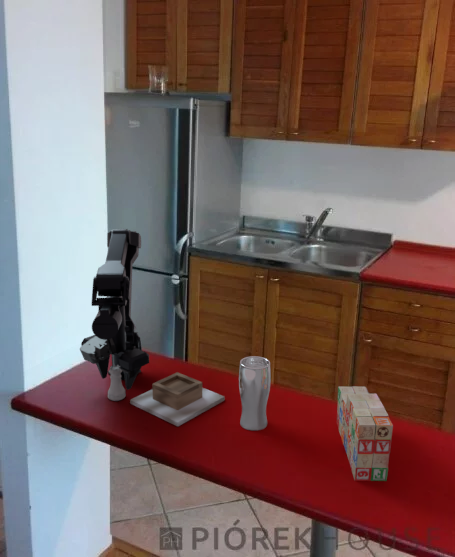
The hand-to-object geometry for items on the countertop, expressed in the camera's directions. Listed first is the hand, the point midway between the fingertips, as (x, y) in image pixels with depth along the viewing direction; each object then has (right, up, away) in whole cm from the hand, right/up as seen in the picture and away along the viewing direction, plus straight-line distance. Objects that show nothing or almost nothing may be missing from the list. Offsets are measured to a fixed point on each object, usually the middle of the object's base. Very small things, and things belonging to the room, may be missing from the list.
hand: (116, 383), depth 139 cm
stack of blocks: (+55, -10, -20) cm, 59 cm away
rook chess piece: (0, -4, +1) cm, 4 cm away
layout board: (+15, -4, -1) cm, 16 cm away
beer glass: (+33, -7, -11) cm, 35 cm away
